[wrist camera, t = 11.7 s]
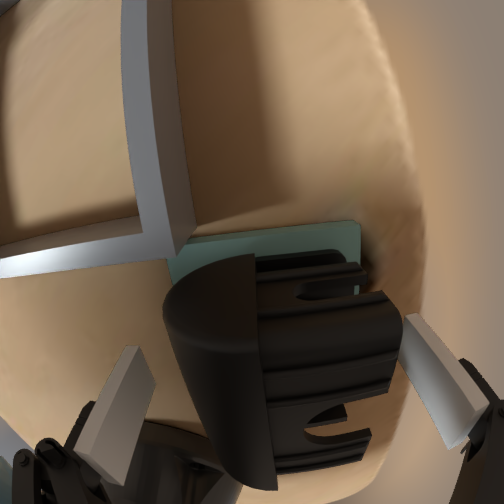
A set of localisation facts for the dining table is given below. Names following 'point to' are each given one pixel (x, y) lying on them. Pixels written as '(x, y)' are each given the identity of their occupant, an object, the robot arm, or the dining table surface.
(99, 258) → the case
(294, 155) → the dining table surface
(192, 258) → the rubber pad
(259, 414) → the end cap
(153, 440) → the robot arm
